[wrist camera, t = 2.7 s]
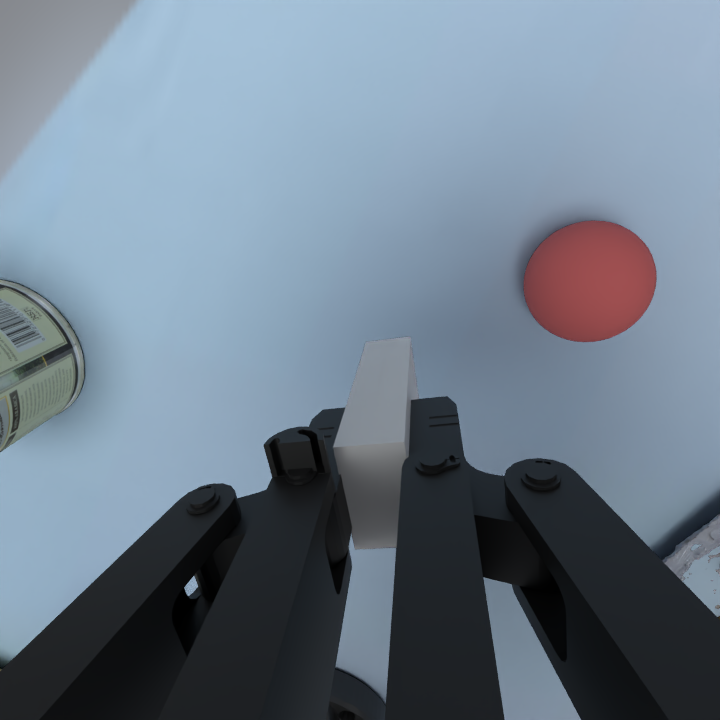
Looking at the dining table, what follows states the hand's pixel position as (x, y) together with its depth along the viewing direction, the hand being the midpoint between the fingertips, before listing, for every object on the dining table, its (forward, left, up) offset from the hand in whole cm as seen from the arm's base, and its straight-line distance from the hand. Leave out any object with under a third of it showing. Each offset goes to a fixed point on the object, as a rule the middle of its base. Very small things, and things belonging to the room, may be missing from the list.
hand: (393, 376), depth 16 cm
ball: (0, -9, -10) cm, 14 cm away
